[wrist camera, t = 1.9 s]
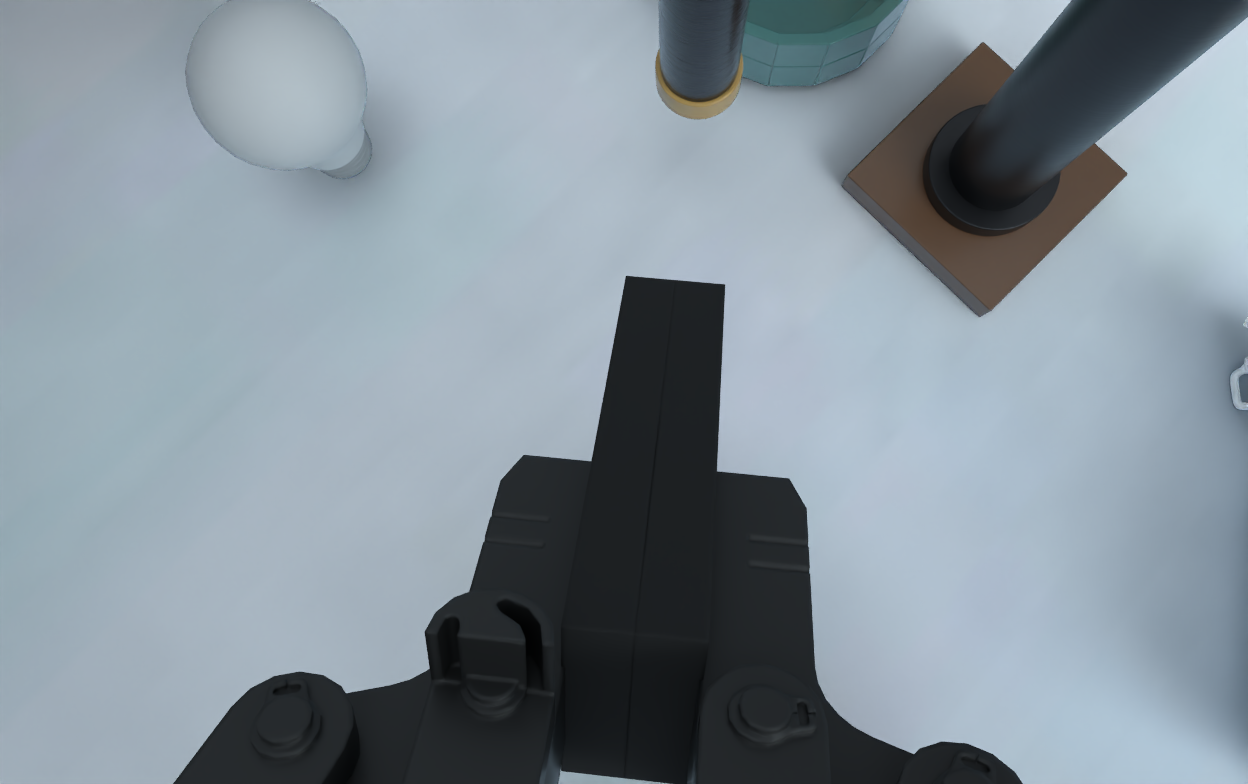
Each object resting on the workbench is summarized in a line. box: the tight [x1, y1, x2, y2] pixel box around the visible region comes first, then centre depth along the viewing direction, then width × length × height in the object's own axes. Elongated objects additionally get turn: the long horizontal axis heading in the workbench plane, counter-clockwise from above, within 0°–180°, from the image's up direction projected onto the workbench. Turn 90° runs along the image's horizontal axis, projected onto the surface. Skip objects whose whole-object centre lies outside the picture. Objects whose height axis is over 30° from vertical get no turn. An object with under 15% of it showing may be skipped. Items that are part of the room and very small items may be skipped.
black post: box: [842, 0, 1248, 317], centre depth 33 cm, size 8×8×20 cm
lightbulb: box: [185, 0, 372, 179], centre depth 38 cm, size 6×6×11 cm
